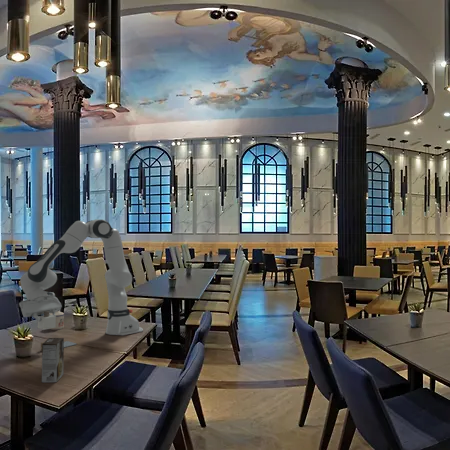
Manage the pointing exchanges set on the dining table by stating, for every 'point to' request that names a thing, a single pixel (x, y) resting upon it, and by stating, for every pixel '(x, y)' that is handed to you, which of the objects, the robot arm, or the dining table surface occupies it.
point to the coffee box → (52, 359)
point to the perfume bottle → (47, 321)
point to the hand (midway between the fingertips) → (47, 319)
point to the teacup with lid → (58, 320)
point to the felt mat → (68, 344)
